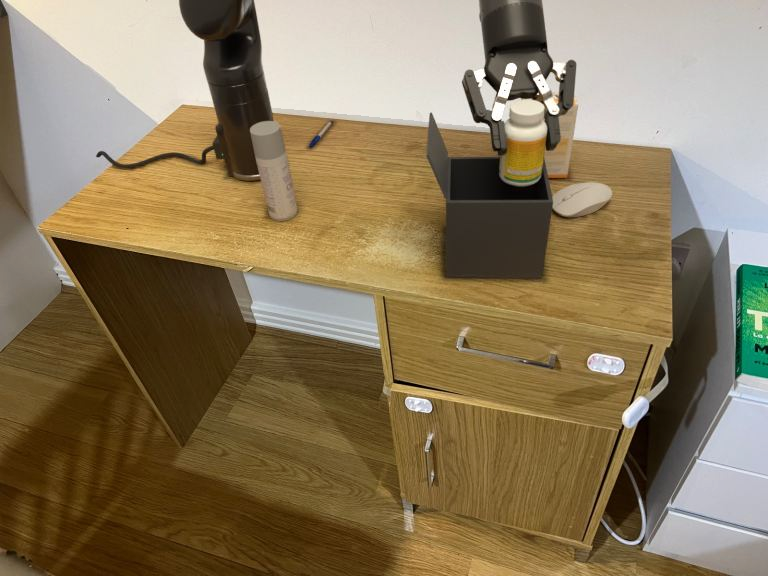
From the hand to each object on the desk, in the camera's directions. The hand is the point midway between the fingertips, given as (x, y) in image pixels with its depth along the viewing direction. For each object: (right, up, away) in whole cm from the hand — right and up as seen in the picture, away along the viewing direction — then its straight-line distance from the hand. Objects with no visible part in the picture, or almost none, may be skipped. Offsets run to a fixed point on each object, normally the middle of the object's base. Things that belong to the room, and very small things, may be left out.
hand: (527, 151), depth 72 cm
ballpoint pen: (-30, +13, +43) cm, 54 cm away
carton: (-2, -12, +13) cm, 18 cm away
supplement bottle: (0, -2, +5) cm, 5 cm away
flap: (-10, 0, +3) cm, 11 cm away
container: (-34, -5, +24) cm, 42 cm away
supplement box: (+9, +3, +28) cm, 30 cm away
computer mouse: (+13, -4, +21) cm, 25 cm away
